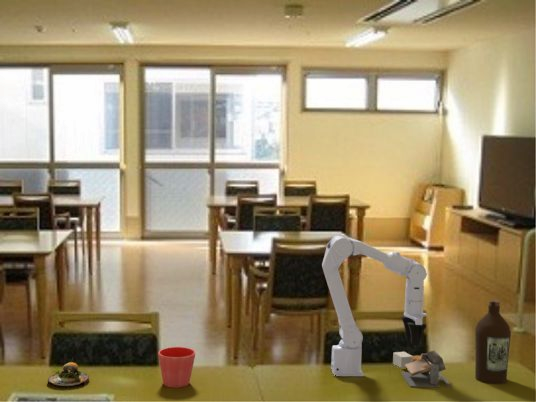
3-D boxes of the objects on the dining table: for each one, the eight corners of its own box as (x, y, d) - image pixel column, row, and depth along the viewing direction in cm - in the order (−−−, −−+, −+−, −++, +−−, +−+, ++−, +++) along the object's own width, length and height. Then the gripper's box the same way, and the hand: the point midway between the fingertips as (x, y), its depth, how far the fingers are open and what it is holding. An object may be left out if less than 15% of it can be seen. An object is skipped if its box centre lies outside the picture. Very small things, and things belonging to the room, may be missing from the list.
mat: (410, 387, 210) (410, 385, 210) (400, 373, 223) (400, 372, 223) (439, 387, 211) (439, 386, 211) (428, 373, 224) (428, 372, 224)
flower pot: (188, 391, 203) (188, 358, 202) (152, 387, 205) (153, 355, 204) (199, 379, 213) (199, 348, 212) (165, 376, 215) (165, 345, 215)
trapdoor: (413, 380, 212) (410, 369, 212) (406, 371, 221) (403, 360, 221) (445, 369, 213) (442, 358, 212) (437, 360, 222) (434, 350, 221)
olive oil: (467, 374, 224) (471, 297, 222) (498, 373, 226) (502, 297, 224) (482, 385, 214) (485, 305, 212) (514, 384, 215) (518, 304, 213)
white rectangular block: (392, 364, 233) (401, 369, 228) (393, 352, 233) (401, 357, 228) (404, 363, 234) (412, 368, 229) (404, 351, 234) (412, 356, 229)
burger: (39, 385, 205) (39, 360, 205) (68, 374, 216) (68, 350, 215) (69, 392, 200) (69, 367, 199) (97, 381, 210) (98, 357, 210)
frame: (430, 386, 211) (431, 364, 211) (420, 374, 223) (421, 353, 223) (450, 386, 212) (451, 364, 211) (439, 374, 223) (440, 353, 223)
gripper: (432, 304, 215) (431, 348, 216) (420, 295, 229) (419, 335, 230) (410, 304, 215) (408, 347, 216) (399, 295, 229) (398, 335, 230)
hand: (412, 341), depth 223 cm, fingers open, 7 cm apart
